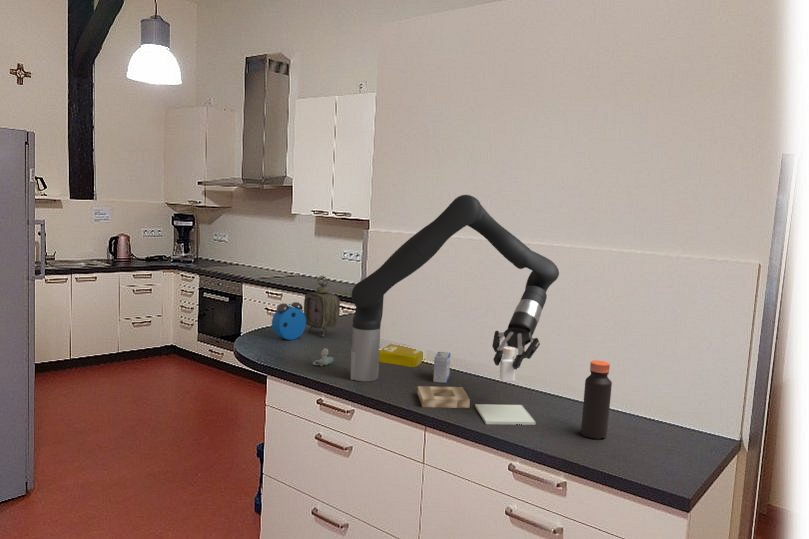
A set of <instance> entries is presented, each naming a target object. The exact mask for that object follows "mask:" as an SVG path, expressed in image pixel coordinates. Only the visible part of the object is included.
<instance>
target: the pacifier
mask: <svg viewBox="0 0 809 539" xmlns="http://www.w3.org/2000/svg"><path fill="white" fill-rule="evenodd" d="M328 355H329V349H328V348H327V347H325V348H323V349H322V350H321V352H320V356H321V358H320V359H316V360H314V361H313V362H312V365H314V366H319V365H320V366H319V367H323V365H326V366H327V365H328V366H329V364H332V363H333V362H334V357H332V356H328Z"/></svg>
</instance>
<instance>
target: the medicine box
mask: <svg viewBox="0 0 809 539" xmlns="http://www.w3.org/2000/svg"><path fill="white" fill-rule="evenodd" d="M433 361H434V362H433V378H432V379H433V382H434V383H440V384H447V382H448V380H449V378H450V371H451V352H448V351H437V354H436V355H435V356H434V360H433Z"/></svg>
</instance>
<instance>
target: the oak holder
mask: <svg viewBox="0 0 809 539" xmlns="http://www.w3.org/2000/svg"><path fill="white" fill-rule="evenodd" d="M417 396H418V399H419V401H420V405H421V407H422V408H444V409H445V408H447V409H448V408H449V409H452V408H454V409H455V408H457V409H459V408H460V409H470V402H471V399H470V397H469V396H468V394H467V392H466V391H465V390H464V388H463V386H429V385H428V386H426V385H425V386H417Z"/></svg>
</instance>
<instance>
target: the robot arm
mask: <svg viewBox="0 0 809 539" xmlns="http://www.w3.org/2000/svg"><path fill="white" fill-rule="evenodd" d="M465 227H469V228H471V229H472V230H474V231H476V233H478V234H480V235H481V236H482V237H483V238H485V240H487V241H488V242H489V243H490V244H491V245H492V246H493V248H494V249H496V251H498V253H500V254H501V255H502V256H503V257H504V258H505V259H506V260H507V261H509V263H511V264H512V265H513V266H514V267H515V268H517V269H519V270H523V269H525V268H527V269H528V270H530V271H531V272H530V273H529V276H528V277H527V279H526V284H525V288H524V292H523V293H522V295H521V298H520V300H519V302H518V304H517V305H516V308H515V309H514V311H513V314H512V316H511V319H510V320H509V324H508V326H507V328H506V329H505V331H504V332H500V331H499V330H495V331H494V335H493V341H492V348H493V351H494V352H495V355H494V356H493V363H494V365H495V366H498V367H499V366H500V362H501V358H503V348H504V347H513V348H515V349H517V351H518V352H517V354H516V355H515V357H514V359H515V360H514V363H513V368H514V369H515V371H517V369H519V368H521V365H522V363H523V360H525V359H528V360H529V359H531V358H532V356H533V355H534V353H536V352H537V349H538V348H539V346H540V345H541V343H540V339H538V337H533V335H534V333H535V330H536V328H537V327H538V323H539V322H540V319H541V315H542V311H543V309H544V306H545V304H546V301H547V298H548V297H547V295H548V294H547V292H548V289H549V288H550V287H551V285H552V284H553V283H554V282H556V281H557V280H558V278H559V276H560V272H559V268H558V265H556V264H555V262H553V260H551V259H549V258H547V257H546V256H544V255H542V254H540V253H538V252H536V251H533V250H532V249H530V247H529V246H527V245H526V244H525V243H523V241H521V240H520V239H519V238H517V237H516V236H515V235H514V234H512V232H510V231H509V230H507V229H506V228H505V227H503V226H502V225H501V223H498V222H497V221H496V220H495V219H494V218H493V217H492V215H490V213H489V212H488V211H487V210H486V209H485V207H483V205H482V204H481V202H480V200H478V198H477V197H475V196H472V195H470V194H462V195H459V196H457V197H456V198H455V199H453V201H452V202H451V203H449V205H448V206H447V207H446V208H445V209H444V210H443V211H442V212H441V213H440V214H439V215H438V216H437V217H436V218H435V219H434V220H433V221H431V222H430V223H428V224H427V225H426V226H424V227H423V228H421V229H420V230H418V231H417V232H416V233H415V234H414V235H412V236H411V237H410V238H408V239H407V240H406V241H405V242H404V243H403V244H401V245H400V246H399V248H397V250H395V251H394V252H393V253H392V254H391V255H390V257H388V259H386V260H385V262H384V263H383V264H382V265H380V266H379V267H378V269H376V270H375V271H374V272H373V273H371V274H370V275H368V276H367V277H365V278H364V279H363V278H362V279H361V280H360V281H358V282H356V284H354V286H353V288H352V290H351V300H352V303H353V304H354V305H355V312H354V316H353V318H352V329H351V330H352V334H351V352H350V380H351V381H357V382H374V381H376V380H378V379H379V372H380V371H379V365H380V362H379V350H380V346H381V344H380V343H381V326H382V319H383V312H384V299H385V298H384V295H386V293H387V292H388V291H390V290H391V288H393V287H394V286H395V285H396V284H398V283H399V282H401V281H403V280H404V279H406V278H407V277H409V276H410V275H412V274H413V273H415V272H416V271H417V270H419V269H420V268H421V267H423V266H424V265H425V264H426V263H427V262H429V261H431V259H432V258H433V257H434V256H435V255H436V254H437V253H438V252H439V251H440V249H441V248H442V247H443V246H444V245H445V243H446V242H447V241H448V240H449V239H450V238H451V237H452V236H454V235H455V234H457V233H458V232H459V231H460V230H462V229H464V228H465ZM503 338H504V339H503ZM500 343H501V344H500ZM527 345H528V347H527V348H525V347H526V346H527Z"/></svg>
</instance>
